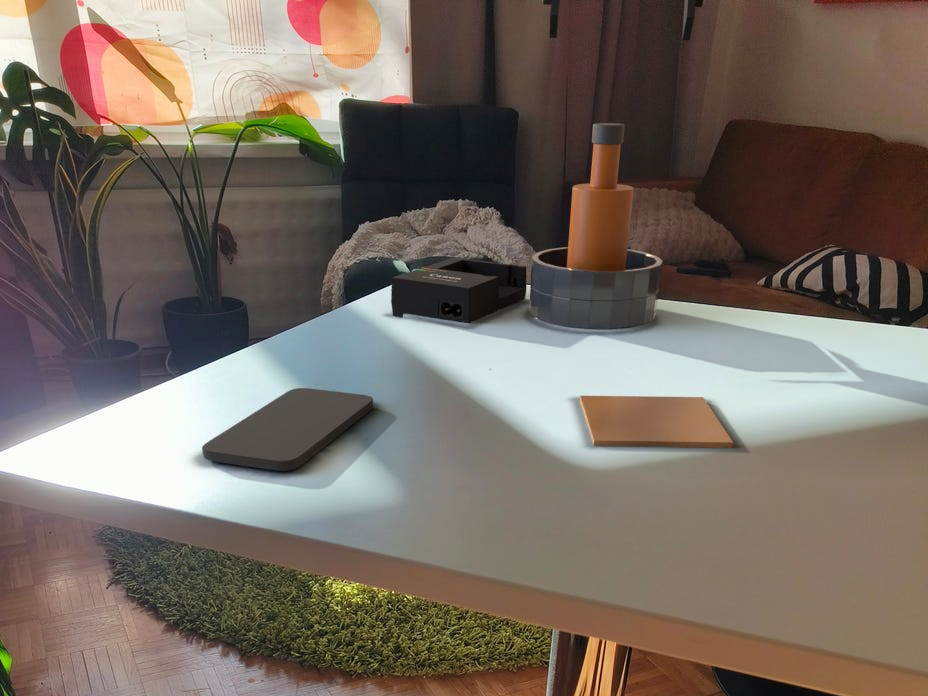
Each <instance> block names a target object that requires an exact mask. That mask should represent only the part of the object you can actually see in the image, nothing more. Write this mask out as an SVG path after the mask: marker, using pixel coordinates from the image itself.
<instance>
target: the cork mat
mask: <svg viewBox="0 0 928 696" xmlns="http://www.w3.org/2000/svg"><path fill="white" fill-rule="evenodd" d="M579 403H580V406H581V410H582V413H583V416H584V420H585V423H586V426H587V429H588V433H589V436H590V440H591V442H592V446H594V447H651V448H652V447H661V448H665V447H667V448H729V449H730V448H733V447H734V441H733V440H732V438H731V437H730V435H729V434H728V432H727V430H726V429H725V428H724V426H723V425H722V423H721V421H720V420H719V419H718V417H717V415H716V414H715V413H714V411H713V410H712V408H711V406H710V405H709V404H708V402H707V400H706V399H705V397H703V396H645V395H642V396H641V395H639V396H638V395H636V396H635V395H580V396H579Z"/></svg>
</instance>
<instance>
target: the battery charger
mask: <svg viewBox="0 0 928 696" xmlns="http://www.w3.org/2000/svg"><path fill="white" fill-rule="evenodd" d="M390 293H391V295H390V304H391V309H392V310H391V311H392V316H393V317H398V318H403V317H404V314H405V315H412V316H418V317H425V318H431V319H436V320H443V321H450V322H456V323H462V324H469V325H470V324H471V323H474V322H476V321H479V320H480V319H483V318H486V317H487V316H491V315H492V314H495V313H496V312H498V311H502V310H504V309H506V308H508V307H510V306H512V305H515V304H517V303H519V302H522V301H524V300H525V299H526V296H527V266H526V265H517V264H510V263H501V262H493V261H485V260H477V259H468V258H462V257H451V258H448V259H445V260H442V261H439V262H436V263H432V264H429V265H426V266H423V267H420V268H416V269H414V270H410V271H408V272H405V273H402V274H399V275H396V276H392V277H391V292H390Z"/></svg>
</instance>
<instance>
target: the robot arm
mask: <svg viewBox="0 0 928 696" xmlns="http://www.w3.org/2000/svg"><path fill="white" fill-rule="evenodd" d="M705 1H706V0H684V6H683V7H684V8H683V10H684V11H683V22H682V23H683V24H682V36H681V41H690V40H691V35H692V30H693V26H694V21H695V16H696V15H695V14H696V8H703V7H704V5H705ZM541 3H542V5H543V6H545V5H546V6H550V13H549V39H557V37H558V29H559V19H560V8H561V0H541Z"/></svg>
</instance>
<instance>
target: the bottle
mask: <svg viewBox="0 0 928 696" xmlns="http://www.w3.org/2000/svg"><path fill="white" fill-rule="evenodd" d="M625 127H626V124H624V123H617V122H616V123H615V122H604V123H603V122H598V123H593V125H592V131H591V133H592V134H591V144H593V145H592V146H593V147H592V159H591V169H590V170H591V171H590V172H591V173H590V183H579V184H574V185H573V186H572V192H571V205H570V218H569V232H568V233H569V234H568V245H567V247H568V258H567V268H571V269H580V270H593V271H618V270H625V266H626V257H627V249H628V247H629V239H630V238H629V237H630V230H631V229H630V227H631V219H632V211H633V203H634V201H633V200H634V191H635V188H634V187H633V186H631V185H627V184H621V183H620V184H619V183H618V178H619V177H618V176H619V167H620V156H621V146H622V144H624V137H625Z"/></svg>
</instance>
